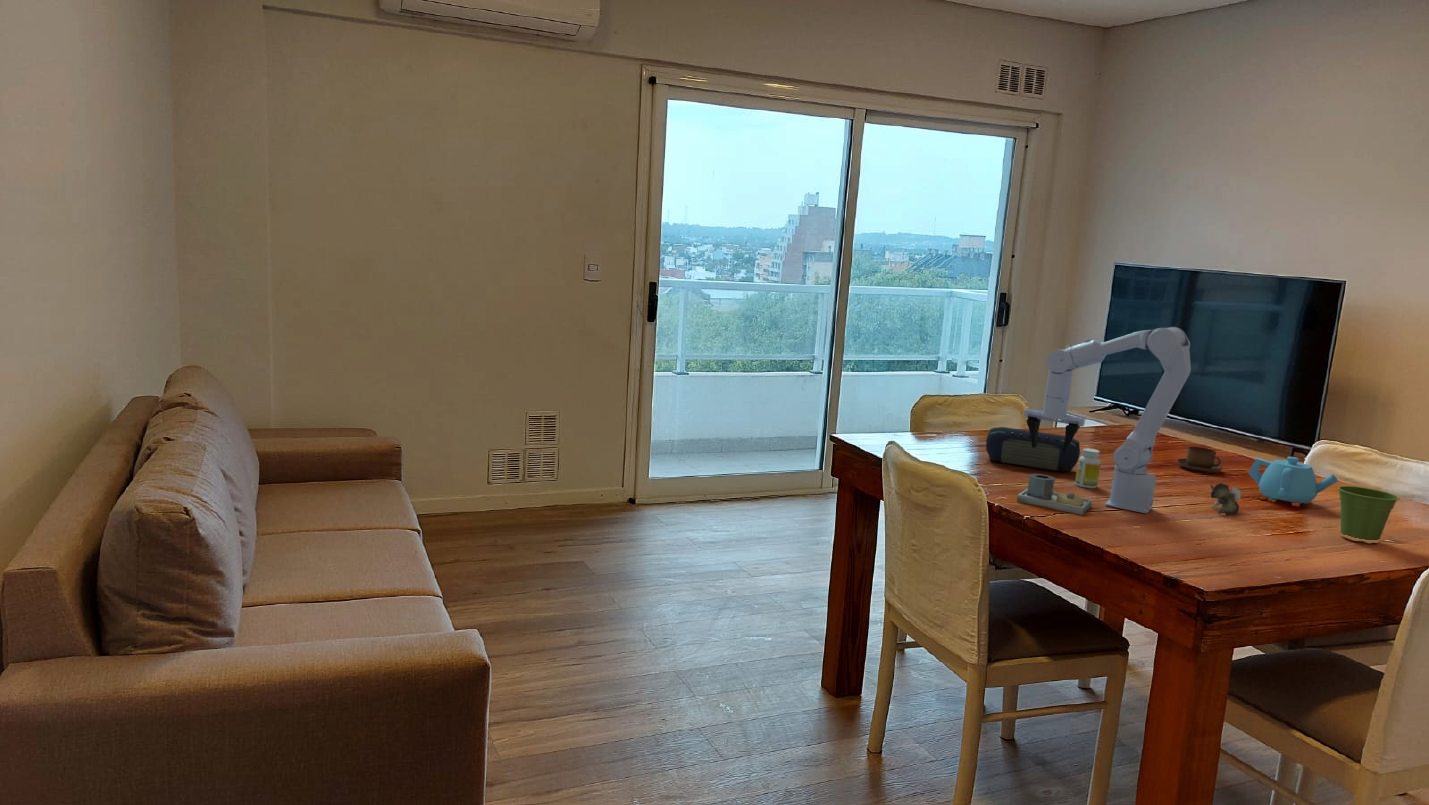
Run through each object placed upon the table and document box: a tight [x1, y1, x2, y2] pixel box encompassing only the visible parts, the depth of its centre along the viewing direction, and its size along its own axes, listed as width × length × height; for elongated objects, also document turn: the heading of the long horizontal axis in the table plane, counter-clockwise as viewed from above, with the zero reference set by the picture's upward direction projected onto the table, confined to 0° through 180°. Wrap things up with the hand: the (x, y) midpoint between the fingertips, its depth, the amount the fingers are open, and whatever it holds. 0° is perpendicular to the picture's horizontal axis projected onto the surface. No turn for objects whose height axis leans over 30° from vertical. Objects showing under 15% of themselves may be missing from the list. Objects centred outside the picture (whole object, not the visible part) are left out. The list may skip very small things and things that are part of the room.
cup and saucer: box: [1176, 446, 1223, 473], centre depth 284 cm, size 12×12×6 cm
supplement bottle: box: [1074, 447, 1102, 489], centre depth 252 cm, size 5×5×10 cm
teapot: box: [1247, 456, 1339, 504], centre depth 252 cm, size 20×17×12 cm
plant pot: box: [1336, 485, 1401, 540], centre depth 221 cm, size 12×12×11 cm
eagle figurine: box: [1210, 482, 1242, 516], centre depth 239 cm, size 8×8×10 cm
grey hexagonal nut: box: [1027, 473, 1056, 500], centre depth 233 cm, size 6×6×5 cm
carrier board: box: [1016, 487, 1093, 516], centre depth 232 cm, size 15×10×3 cm, turn 58°
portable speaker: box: [985, 426, 1081, 473], centre depth 271 cm, size 25×10×10 cm, turn 68°
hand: (1049, 449), depth 246 cm, fingers open, 7 cm apart
